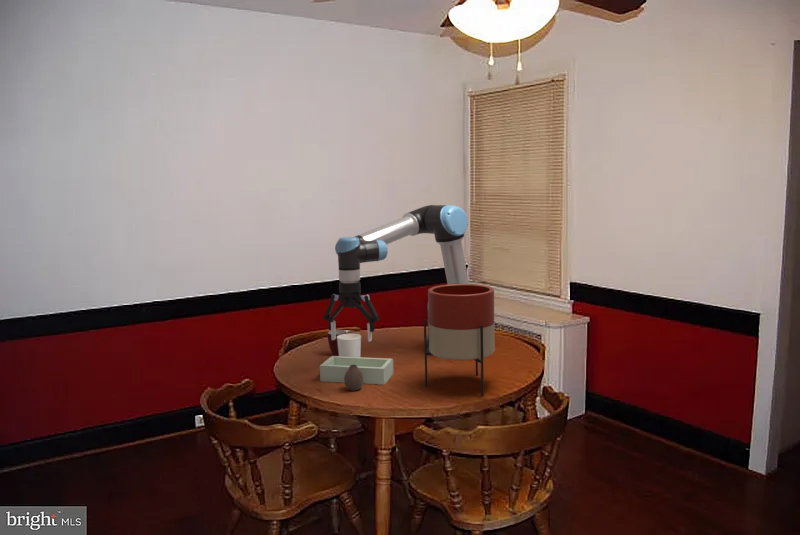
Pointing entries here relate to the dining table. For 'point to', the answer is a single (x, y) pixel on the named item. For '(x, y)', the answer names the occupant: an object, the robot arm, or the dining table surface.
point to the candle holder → (349, 345)
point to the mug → (334, 342)
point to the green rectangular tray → (370, 368)
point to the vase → (353, 378)
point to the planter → (460, 324)
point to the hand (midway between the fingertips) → (351, 340)
